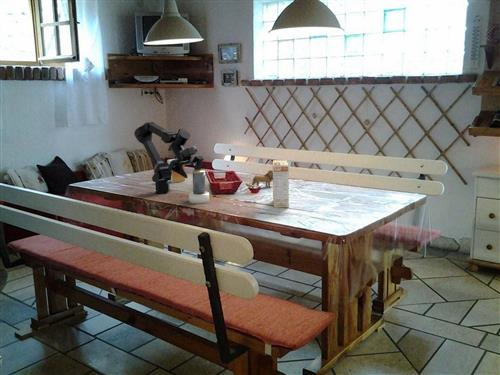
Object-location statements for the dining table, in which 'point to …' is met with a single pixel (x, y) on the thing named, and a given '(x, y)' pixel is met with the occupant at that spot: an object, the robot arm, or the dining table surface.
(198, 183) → the grey tin
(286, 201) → the coffeecake box
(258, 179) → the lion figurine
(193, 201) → the ceramic trivet
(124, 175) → the dining table surface
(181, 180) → the small box
